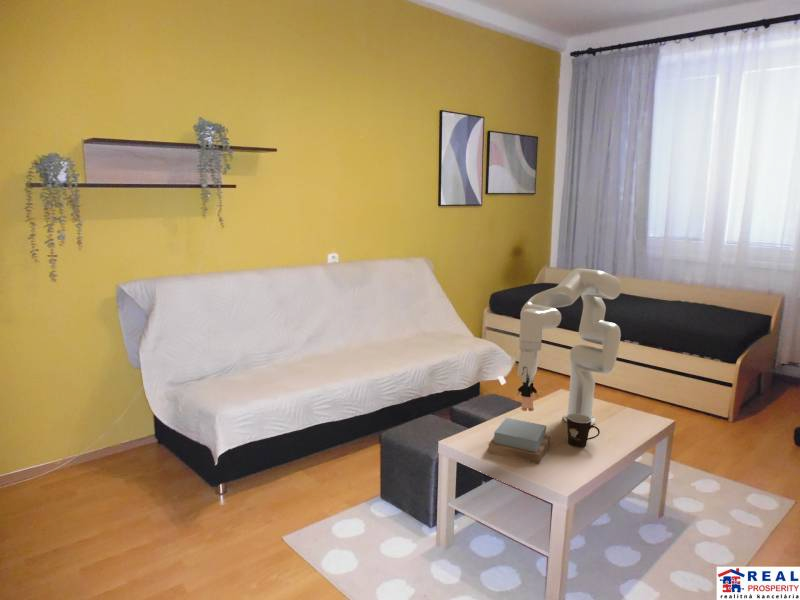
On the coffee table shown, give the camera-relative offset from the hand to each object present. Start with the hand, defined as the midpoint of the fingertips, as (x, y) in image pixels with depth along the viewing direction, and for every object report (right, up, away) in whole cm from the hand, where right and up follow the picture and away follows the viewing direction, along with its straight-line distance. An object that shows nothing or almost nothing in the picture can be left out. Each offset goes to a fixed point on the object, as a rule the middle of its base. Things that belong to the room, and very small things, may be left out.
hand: (526, 394), depth 196 cm
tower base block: (-1, -21, +5) cm, 22 cm away
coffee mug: (+21, -20, +8) cm, 31 cm away
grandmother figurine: (0, -6, +1) cm, 6 cm away
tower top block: (-1, -17, +4) cm, 18 cm away
